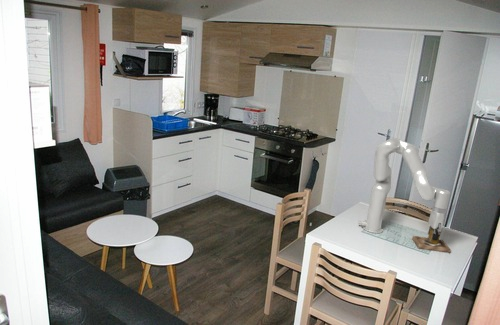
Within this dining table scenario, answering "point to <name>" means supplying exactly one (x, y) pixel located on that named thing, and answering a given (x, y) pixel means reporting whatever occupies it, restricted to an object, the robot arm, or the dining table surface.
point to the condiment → (430, 241)
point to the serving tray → (426, 246)
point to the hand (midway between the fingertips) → (432, 237)
